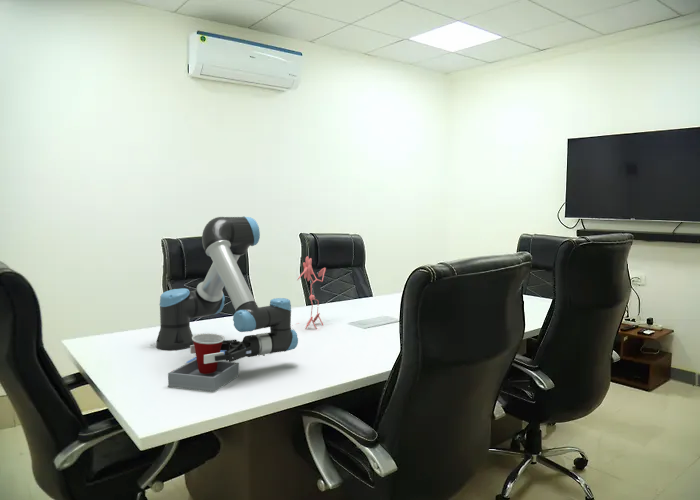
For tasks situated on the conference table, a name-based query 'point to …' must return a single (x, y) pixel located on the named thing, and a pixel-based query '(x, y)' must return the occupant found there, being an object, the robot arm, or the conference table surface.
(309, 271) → the figurine
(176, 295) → the robot arm
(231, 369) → the bin
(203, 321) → the conference table surface
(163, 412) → the conference table surface
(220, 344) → the plastic cup
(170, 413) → the conference table surface
